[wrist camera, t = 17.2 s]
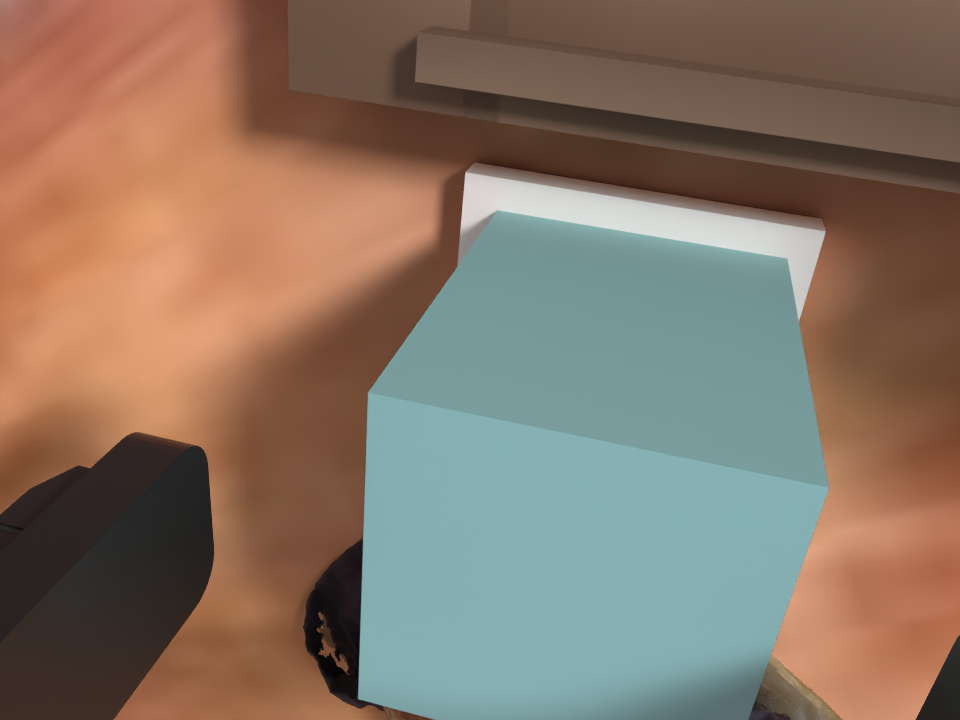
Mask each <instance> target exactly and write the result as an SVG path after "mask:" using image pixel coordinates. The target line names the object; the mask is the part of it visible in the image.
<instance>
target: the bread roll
mask: <svg viewBox="0 0 960 720" xmlns="http://www.w3.org/2000/svg"><path fill="white" fill-rule="evenodd" d="M362 564H363V539H362V540H361V541H359V542H357V543H356V544H355V545H353V546H352V547H350V548H349V549H347V550H346V551H345V553H344V554H343V555H342V556H340V557H339V558H338V559H337V560H336V561H335V562H333V563H332V564H331V565H330V566H329V568H328V570H327V571H326V572H325V573H324V574H323V576H322V577H321V579H320V580H319V581H318V582H317V583H316V584H315V589H314V590H313V591H312V592H311V594H310V596H309V598H308V600H307V603H306V616H305V623H304V626H303V628H304V632H305V637H306V639H305V645H306V648H307V651H308V652H309V654H310V655H311V656H313V657H314V658H315V659H316V661H317V662H318V666H319V669H320V671H321V674H322V676H323V678H324V679H325V682H326V684H327V686H328V688H329V690H330V693H332V694H333V695H335V696H336V697H338V698H339V699H341V700H342V701H343V702H346V703H348V704H350V705H353V706H355V707H357V708H363V707H365V706H367V705H372V706H375V707H376V708H378V709H379V710H382V711H385V713H386V715H387V717H388V719H389V720H434V719H431V718H427V717H423V716H419V715H416V714H412V713H408V712H404V711H401V710H397V709H393V708H389V707H386V706H382V705H378V704H374V703H371V702H367V701H363V700H359V699H358V687H359V656H360V625H361V595H362ZM319 612H320V613H321V615H322V614H323V620H322V621H321V620H320V617H319V615H318V613H319ZM321 625H322V626H323V629H322V628H320V627H321ZM317 628H318V629H319V631H320V633H319V632H318V631H317ZM322 638H323V639H324V640H325V641H326V642H327V644H328V645H329V646H330V647H331V648H335V649H336V650H335V651H334V653H335V656H336V658H337V659H338V661H340V657H339V655H340V654H341V656H342V657H343V658H344V660H345V661H346V663H347V665H348V667H349V669H348V671H347V673H348V674H351V675H348V674H346V672H345V671H344V670H343V669H342V668H340V667H337V665H336V662H335V661H334V658H332V656H331V653H329V656H327V658H326V657H325V656H323V655H319V654H318V653H319V652H320V651H321V650H320V649H322V650H324V648H323V644H322V641H321V640H322ZM325 655H326V654H325ZM748 720H842V719H841V718H840V717H839V716H838V715H837V714H836V713H835V712H834V711H833V710H832V709H831V708H830V707H829V706H828V705H827V704H826V703H825V702H824V701H823V699H822V698H820V697H819V696H817V694H815V693H814V692H813V691H812V689H810V688H808V687H807V686H805V685H804V684H803V683H802V682H801V681H800V680H799V679H798V678H797V677H795V676H794V675H793V673H791V672H790V671H789V670H788V669H787V668H786V667H784V665H783V664H782V663H781V662H780V661H779V660H777V659H776V658H775V657H773V656H772V655H771V656H770V659H769V662H768V665H767V668H766V670H765V673H764V676H763V679H762V682H761V685H760V688H759V691H758V693H757V696H756V699H755V702H754V705H753V708H752V711H751V714H750V716H749V719H748Z"/></svg>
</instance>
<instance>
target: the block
mask: <svg viewBox="0 0 960 720" xmlns="http://www.w3.org/2000/svg"><path fill="white" fill-rule="evenodd" d="M828 489H829V485H828V480H827V474H826V469H825V463H824V458H823V452H822V446H821V441H820V435H819V430H818V424H817V419H816V413H815V408H814V402H813V397H812V391H811V386H810V380H809V375H808V369H807V364H806V358H805V353H804V347H803V342H802V336H801V331H800V325H799V320H798V314H797V309H796V303H795V298H794V292H793V287H792V281H791V275H790V270H789V264H788V259H787V258H781V257H775V256H769V255H763V254H757V253H751V252H745V251H739V250H733V249H727V248H721V247H715V246H709V245H703V244H697V243H691V242H685V241H679V240H673V239H667V238H661V237H655V236H649V235H643V234H637V233H631V232H625V231H619V230H613V229H607V228H601V227H595V226H589V225H583V224H577V223H571V222H565V221H559V220H553V219H547V218H541V217H535V216H529V215H523V214H517V213H511V212H505V211H499V210H497V212H496V213H495V215H494V216H493V217H492V219H491V220H490V222H489V223H488V224H487V226H486V227H485V229H484V230H483V232H482V233H481V234H480V236H479V237H478V239H477V240H476V241H475V243H474V244H473V246H472V247H471V248H470V250H469V251H468V253H467V254H466V255H465V257H464V258H463V260H462V261H461V262H460V264H459V265H458V267H457V268H456V270H455V271H454V272H453V274H452V275H451V277H450V278H449V279H448V281H447V282H446V284H445V285H444V286H443V288H442V289H441V291H440V292H439V293H438V295H437V296H436V298H435V299H434V300H433V302H432V303H431V305H430V306H429V308H428V309H427V310H426V312H425V313H424V315H423V316H422V317H421V319H420V320H419V322H418V323H417V324H416V326H415V327H414V329H413V330H412V331H411V333H410V334H409V336H408V337H407V339H406V340H405V341H404V343H403V344H402V346H401V347H400V348H399V350H398V351H397V353H396V354H395V355H394V357H393V358H392V360H391V361H390V362H389V364H388V365H387V367H386V368H385V369H384V371H383V372H382V374H381V375H380V377H379V378H378V379H377V381H376V382H375V384H374V385H373V386H372V388H371V389H370V391H369V392H368V410H367V441H366V472H365V502H364V533H363V564H362V595H361V625H360V656H359V687H358V699H359V700H363V701H367V702H371V703H374V704H378V705H382V706H386V707H389V708H393V709H397V710H401V711H404V712H408V713H412V714H416V715H419V716H423V717H427V718H431V719H434V720H748V719H749V716H750V714H751V711H752V708H753V705H754V702H755V699H756V696H757V693H758V691H759V688H760V685H761V682H762V679H763V676H764V673H765V670H766V668H767V665H768V662H769V659H770V656H771V653H772V650H773V647H774V645H775V642H776V639H777V636H778V633H779V630H780V627H781V624H782V622H783V619H784V616H785V613H786V610H787V607H788V604H789V601H790V599H791V596H792V593H793V590H794V587H795V584H796V581H797V578H798V576H799V573H800V570H801V567H802V564H803V561H804V558H805V555H806V552H807V550H808V547H809V544H810V541H811V538H812V535H813V532H814V529H815V527H816V524H817V521H818V518H819V515H820V512H821V509H822V506H823V504H824V501H825V498H826V495H827V492H828Z"/></svg>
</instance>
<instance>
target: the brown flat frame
mask: <svg viewBox="0 0 960 720" xmlns="http://www.w3.org/2000/svg"><path fill="white" fill-rule="evenodd" d="M287 13H288V90H290V91H296V92H303V93H309V94H316V95H322V96H329V97H335V98H342V99H348V100H355V101H361V102H368V103H374V104H381V105H387V106H394V107H400V108H407V109H413V110H420V111H426V112H433V113H439V114H446V115H452V116H459V117H465V118H472V119H478V120H485V121H491V122H498V123H504V124H511V125H517V126H524V127H530V128H537V129H544V130H550V131H557V132H563V133H570V134H576V135H583V136H589V137H596V138H602V139H609V140H615V141H622V142H628V143H635V144H641V145H648V146H654V147H661V148H667V149H674V150H680V151H687V152H693V153H700V154H706V155H713V156H719V157H726V158H732V159H739V160H745V161H752V162H758V163H765V164H771V165H778V166H784V167H791V168H797V169H804V170H810V171H817V172H823V173H830V174H836V175H843V176H849V177H856V178H862V179H869V180H875V181H882V182H888V183H895V184H901V185H908V186H914V187H921V188H927V189H934V190H940V191H947V192H953V193H960V0H287Z"/></svg>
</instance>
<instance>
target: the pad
mask: <svg viewBox="0 0 960 720" xmlns="http://www.w3.org/2000/svg"><path fill="white" fill-rule="evenodd" d="M497 210H499V211H505V212H511V213H517V214H523V215H529V216H535V217H541V218H547V219H553V220H559V221H565V222H571V223H577V224H583V225H589V226H595V227H601V228H607V229H613V230H619V231H625V232H631V233H637V234H643V235H649V236H655V237H661V238H667V239H673V240H679V241H685V242H691V243H697V244H703V245H709V246H715V247H721V248H727V249H733V250H739V251H745V252H751V253H757V254H763V255H769V256H775V257H781V258H787V259H788V264H789V270H790V275H791V281H792V287H793V292H794V298H795V303H796V309H797V314H798V320H800V317H801V313H802V310H803V307H804V303H805V300H806V297H807V293H808V290H809V286H810V283H811V280H812V276H813V273H814V270H815V266H816V263H817V260H818V256H819V253H820V250H821V246H822V243H823V240H824V236H825V233H826V230H825V227H824V224H823V221H822V219H821V218H814V217H808V216H802V215H796V214H790V213H784V212H777V211H771V210H765V209H759V208H753V207H747V206H740V205H734V204H728V203H722V202H716V201H710V200H703V199H697V198H691V197H685V196H679V195H672V194H666V193H660V192H654V191H648V190H642V189H635V188H629V187H623V186H617V185H611V184H605V183H598V182H592V181H586V180H580V179H574V178H568V177H561V176H555V175H549V174H543V173H537V172H531V171H524V170H518V169H512V168H506V167H500V166H494V165H487V164H481V163H474V164H473V165H472V166H471V167H470V168H469V169H468V170H467V171H466V172H465V184H464V195H463V207H462V218H461V230H460V241H459V253H458V264H457V267H458V265H459V264H460V262H461V261H462V260H463V258H464V257H465V255H466V254H467V253H468V251H469V250H470V248H471V247H472V246H473V244H474V243H475V241H476V240H477V239H478V237H479V236H480V234H481V233H482V232H483V230H484V229H485V227H486V226H487V224H488V223H489V222H490V220H491V219H492V217H493V216H494V215H495V213H496V212H497Z"/></svg>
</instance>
